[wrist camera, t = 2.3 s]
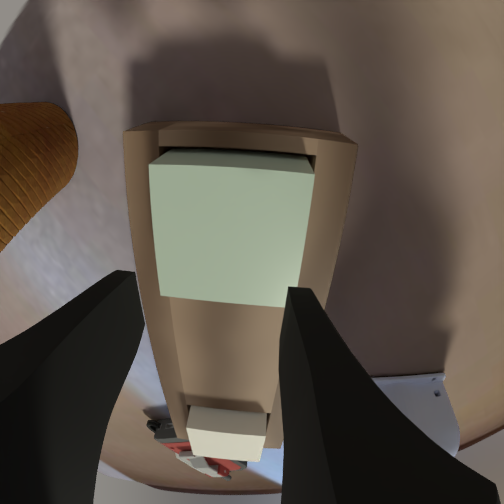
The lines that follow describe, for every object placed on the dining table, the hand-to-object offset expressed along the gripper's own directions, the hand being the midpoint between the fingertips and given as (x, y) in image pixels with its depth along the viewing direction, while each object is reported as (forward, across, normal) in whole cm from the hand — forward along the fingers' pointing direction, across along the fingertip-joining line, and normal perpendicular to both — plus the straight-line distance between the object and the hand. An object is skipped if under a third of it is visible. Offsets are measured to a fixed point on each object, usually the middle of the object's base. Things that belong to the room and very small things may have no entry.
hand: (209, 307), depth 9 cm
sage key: (+7, 0, 0) cm, 7 cm away
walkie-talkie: (+10, +2, +34) cm, 35 cm away
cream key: (+7, 0, +19) cm, 20 cm away
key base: (+9, 0, +10) cm, 13 cm away
